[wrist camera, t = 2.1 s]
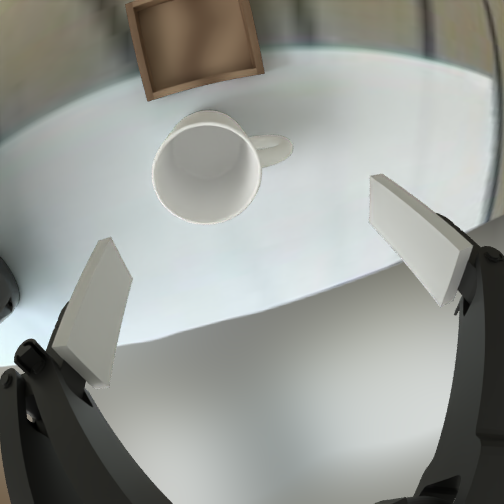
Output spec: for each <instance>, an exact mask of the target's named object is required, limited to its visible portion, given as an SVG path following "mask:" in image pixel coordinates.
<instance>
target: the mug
mask: <svg viewBox="0 0 504 504" xmlns="http://www.w3.org/2000/svg"><path fill="white" fill-rule="evenodd" d="M261 148H266V149H261ZM256 149H260V150H256ZM292 152H293V144H292V142H291V141H290V140H289V139H288V138H286V137H283V136H279V135H259V136H250V137H248V136H247V135H246V134H245V132H244V131H243V129H242V128H241V127H240V125H239V124H238V123H237V122H236V121H235V120H234V119H232V118H231V117H230V116H228V115H226V114H224V113H221V112H218V111H212V110H204V111H198V112H195V113H192V114H190V115H188V116H186V117H185V118H183V119H182V120H181V121H180V122H179V123H178V124H177V125H176V126H175V127H174V129H173V130H172V131H171V133H170V134H169V135H168V137H167V138H166V139H165V141H164V142H163V143H162V145H161V146H160V148H159V150H158V151H157V153H156V156H155V158H154V162H153V166H152V182H153V187H154V190H155V193H156V195H157V197H158V199H159V200H160V202H161V203H162V204H163V206H164V207H165V208H166V209H167V210H168V211H169V212H171V213H172V214H173V215H175V216H176V217H178V218H180V219H182V220H184V221H187V222H190V223H194V224H202V225H209V224H217V223H221V222H224V221H227V220H230V219H232V218H233V217H235V216H237V215H238V214H240V213H241V212H242V211H244V210H245V209H246V208H247V207H248V206H249V205H250V203H251V202H252V201H253V199H254V198H255V196H256V194H257V192H258V189H259V187H260V183H261V177H262V168H265V167H268V166H272V165H274V164H277V163H280V162H282V161H283V160H285V159H287V158H288V157H289V156H290V155H291V153H292Z"/></svg>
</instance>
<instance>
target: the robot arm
mask: <svg viewBox="0 0 504 504" xmlns="http://www.w3.org/2000/svg"><path fill="white" fill-rule="evenodd" d="M369 223H370V225H371V226H372V227H373V228H374V229H375V230H376V231H377V232H378V233H379V234H380V235H381V236H382V237H383V239H384V240H385V241H386V242H387V243H388V244H389V245H390V246H391V248H392V249H393V250H394V251H395V252H396V253H397V254H398V255H399V257H400V258H401V259H402V260H403V261H404V262H405V264H406V265H407V266H408V267H409V268H410V269H411V271H412V272H413V273H414V274H415V276H416V277H417V278H418V279H419V280H420V282H421V283H422V284H423V286H424V287H425V288H426V289H427V290H428V292H429V293H430V294H431V296H432V297H433V298H434V300H435V301H436V302H437V304H438V305H439V306H440V307H442V306H444V305H446V304H448V303H450V302H452V301H453V300H454V298H455V296H456V293H457V291H459V292H460V293H461V294H462V297H461V299H460V301H459V304H458V306H457V308H456V310H455V313H454V315H457V313H458V311H459V310H460V312H459V332H458V344H457V354H456V362H455V370H454V377H453V383H452V389H451V394H450V399H449V404H448V408H447V413H446V417H445V421H444V425H443V429H442V433H441V436H440V440H439V443H438V446H437V450H436V453H435V456H434V458H433V460H432V462H431V463H430V464H429V466H428V467H427V469H426V470H425V472H424V473H423V475H422V478H421V480H420V483H419V485H418V487H417V489H416V492H415V494H414V496H413V497H408V498H406V497H404V498H398V499H391V500H383V501H380V502H377V503H375V504H504V256H503V254H502V253H501V252H500V251H498V250H497V249H495V248H493V247H490V246H484V247H480V246H479V245H477V244H476V243H475V242H474V241H473V240H472V239H471V238H470V237H469V236H468V235H467V234H465V233H464V232H463V231H462V230H460V228H458V227H457V226H456V225H454V223H453V222H451V221H450V220H449V219H448V218H446V217H444V216H442V215H440V214H438V213H435V212H433V211H432V210H431V209H430V208H428V207H427V206H426V205H425V204H423V203H422V202H421V201H419V200H418V199H417V198H415V197H414V196H413V195H411V194H410V193H409V192H407V191H406V190H405V189H403V188H402V187H401V186H399V185H398V184H396V183H395V182H393V181H392V180H391V179H389V178H388V177H386V176H385V175H383V174H379V175H372V176H370V206H369ZM132 280H133V278H132V277H131V275H130V273H129V271H128V269H127V267H126V265H125V264H124V262H123V260H122V258H121V256H120V254H119V252H118V250H117V248H116V246H115V244H114V242H113V240H112V238H111V237H109V238H106V239H103V240H99V241H98V243H97V245H96V247H95V249H94V251H93V252H92V254H91V256H90V258H89V260H88V262H87V264H86V266H85V268H84V270H83V272H82V275H81V277H80V279H79V281H78V283H77V285H76V287H75V290H74V292H73V294H72V296H71V299H70V301H68V302H67V304H66V305H65V306H64V308H63V309H62V310H61V313H60V315H59V318H58V321H57V323H56V325H55V329H54V330H53V333H52V335H51V338H50V341H49V344H48V346H47V349H46V351H45V350H44V349H43V348H42V347H41V346H40V345H39V344H38V343H37V342H36V340H35V339H27V340H26V341H24V342H23V343H22V344H21V345H20V346H19V348H18V349H17V351H16V353H15V357H14V363H15V364H16V365H18V366H19V367H20V368H21V369H22V370H23V371H24V372H25V373H24V374H21V375H20V374H19V373H18V372H17V371H16V370H15V369H13V368H10V369H8V370H6V371H5V372H4V373H3V375H2V376H1V379H0V444H1V453H2V460H3V467H4V472H5V478H6V484H7V488H8V493H9V497H10V501H11V504H172V502H171V501H170V500H169V499H168V498H167V497H166V496H165V495H164V494H163V493H162V492H161V491H160V490H159V489H158V488H157V487H156V486H155V484H154V483H153V482H152V481H151V480H150V479H149V477H148V476H147V475H146V474H145V473H144V472H143V470H142V469H141V468H140V467H139V466H138V464H137V463H136V462H135V460H134V459H133V458H132V456H131V455H130V454H129V453H128V451H127V450H126V449H125V447H124V446H123V445H122V443H121V442H120V440H119V439H118V437H117V436H116V435H115V433H114V432H113V430H112V429H111V427H110V426H109V424H108V423H107V421H106V420H105V418H104V417H103V415H102V413H101V412H100V410H99V409H98V407H97V405H96V403H95V402H94V400H93V398H92V397H91V395H90V393H89V392H88V391H87V390H86V389H85V383H86V381H87V382H88V383H89V384H90V385H91V386H92V387H93V388H109V386H110V380H111V374H112V368H113V362H114V357H115V352H116V347H117V342H118V337H119V332H120V328H121V323H122V319H123V315H124V311H125V307H126V303H127V299H128V295H129V291H130V287H131V283H132ZM18 301H19V290H18V286H17V283H16V281H15V278H14V276H13V274H12V273H11V271H10V269H9V268H8V266H7V265H6V264H5V262H4V261H3V260H2V259H1V258H0V323H2V322H3V321H4V320H5V319H6V318H7V317H8V316H9V315H11V314H12V312H13V311H14V309H15V307H16V305H17V304H18ZM26 413H27V414H29V415H30V416H31V417H32V419H33V422H30V421H29V420H28V419H27V414H26ZM454 500H455V501H454ZM453 502H454V503H453Z"/></svg>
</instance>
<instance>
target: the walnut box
mask: <svg viewBox="0 0 504 504" xmlns="http://www.w3.org/2000/svg"><path fill="white" fill-rule="evenodd" d="M125 7H126V12H127V17H128V22H129V27H130V31H131V36H132V40H133V45H134V49H135V54H136V58H137V62H138V66H139V70H140V74H141V78H142V82H143V86H144V90H145V94H146V98H147V101H151V100H154V99H157V98H161V97H164V96H167V95H170V94H174V93H177V92H181V91H184V90H188V89H192V88H195V87H199V86H203V85H208V84H212V83H216V82H221V81H226V80H231V79H236V78H241V77H247V76H253V75H259V74H265V72H264V67H263V62H262V57H261V52H260V47H259V43H258V38H257V33H256V29H255V24H254V20H253V15H252V11H251V7H250V2H249V0H136V1H133V2H130V3H128V4H125Z"/></svg>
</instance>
